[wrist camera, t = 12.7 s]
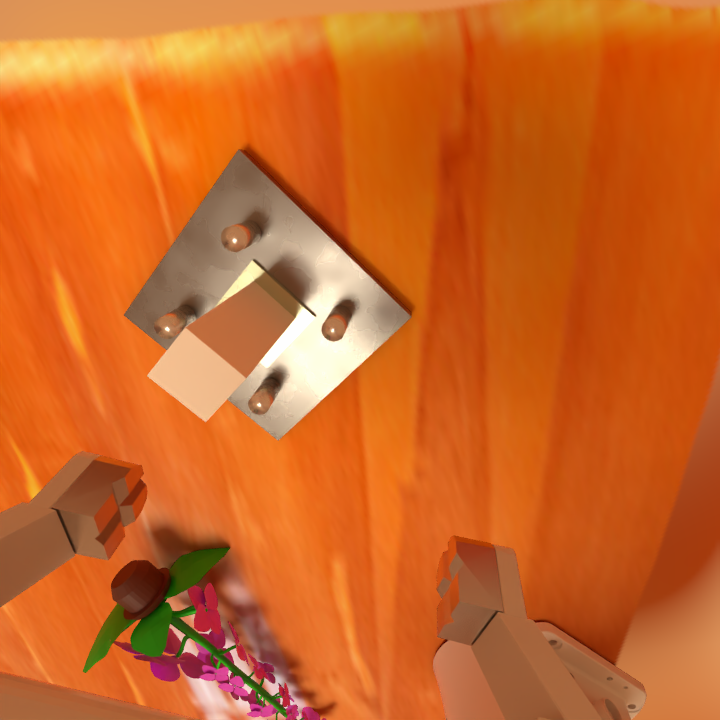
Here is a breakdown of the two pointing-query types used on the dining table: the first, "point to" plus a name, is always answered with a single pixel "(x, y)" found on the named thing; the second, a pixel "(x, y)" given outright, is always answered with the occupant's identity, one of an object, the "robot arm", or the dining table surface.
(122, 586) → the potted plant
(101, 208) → the dining table surface
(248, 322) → the post
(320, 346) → the grey square base plate
